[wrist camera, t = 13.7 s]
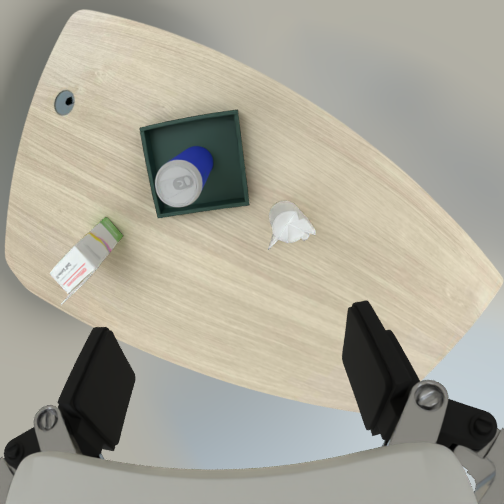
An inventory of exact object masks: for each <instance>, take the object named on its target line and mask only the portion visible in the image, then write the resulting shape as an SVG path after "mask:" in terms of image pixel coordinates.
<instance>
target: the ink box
mask: <svg viewBox="0 0 504 504" xmlns="http://www.w3.org/2000/svg"><path fill="white" fill-rule="evenodd" d="M122 237H123V235H122V234H121V233H120V232H119V230H118V229H117V228H116V227H115V226H114V225H113V224H112V223H111V222H110V220H109V219H108V218H107V217H105V218H104V219H103V220H102V221H101V222H100V223H98V224H97V225H96V226H95V227H94V228H93V229H92V230H91V231H89V232H88V233H87V234H86V235H85V236H84V237H83V238H82V239H81V240H80V241H79V242H78V243H77V244H76V245H74V246H73V247H72V248H71V249H70V250H69V252H68V253H67V254H66V255H65V256H64V257H63V258H62V259H61V260H60V261H59V263H58V264H57V265H56V266H55V267H54V268H53V270H52V271H51V272H50V274H51V276H52V277H53V278H54V279H55V280H56V281H57V282H58V283H59V284H60V286H61V287H62V288H63V289H64V290H65V291H66V292H67V293H68V294H69V295H68V296H67V298H66V299H65V300H64V301H63V302H62V303H61V305H62V304H63V303H64V302H65V301H66V300H67V299H68V298H69V297H70V296H71V295H73V294H74V293H75V292H76V291H77V290H78V289H79V288H80V287H81V286H82V285H83V284H84V283H85V282H86V281H87V280H88V279H89V277H90V276H91V275H92V274H93V273H94V272H95V271H96V270H97V268H98V267H99V266H100V264H101V263H102V262H103V261H104V259H105V258H106V257H107V255H108V254H109V253H110V252H111V250H112V249H113V248H114V247H115V246H116V244H117V243H118V242H119V241H120V239H121V238H122Z"/></svg>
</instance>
